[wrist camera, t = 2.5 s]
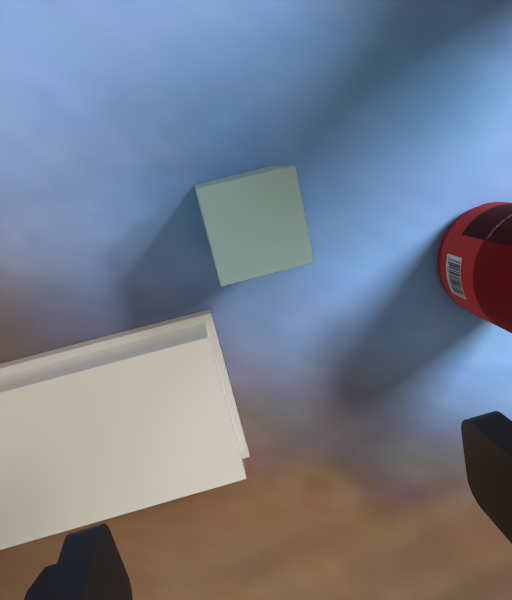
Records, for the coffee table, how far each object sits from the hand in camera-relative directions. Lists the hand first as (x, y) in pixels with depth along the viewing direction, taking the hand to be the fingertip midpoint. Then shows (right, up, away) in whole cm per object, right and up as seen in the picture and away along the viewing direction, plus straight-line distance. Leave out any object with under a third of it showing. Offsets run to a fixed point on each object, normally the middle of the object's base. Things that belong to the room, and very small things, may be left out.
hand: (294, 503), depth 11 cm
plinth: (-11, -3, +23) cm, 25 cm away
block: (-2, +10, +20) cm, 23 cm away
